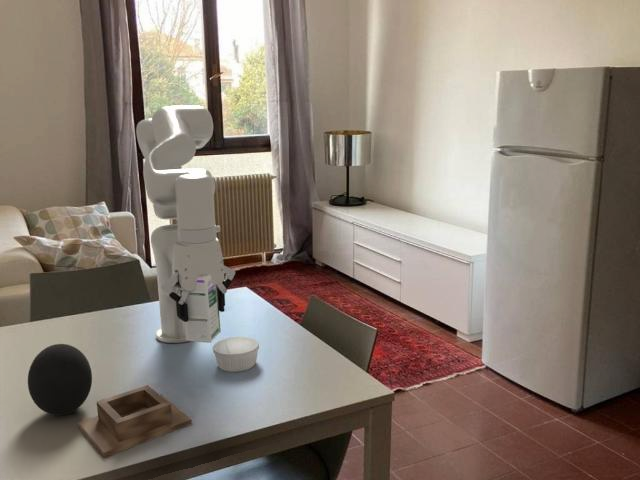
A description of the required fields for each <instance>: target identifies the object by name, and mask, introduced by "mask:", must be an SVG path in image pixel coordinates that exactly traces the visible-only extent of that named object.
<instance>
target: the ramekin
mask: <svg viewBox="0 0 640 480" xmlns="http://www.w3.org/2000/svg"><path fill="white" fill-rule="evenodd" d="M259 348H260V344H259V342H258V341H257V340H256V339H255V338H253V337H247V336H232V337H231V336H230V337H227V338H223V339H221V340H219V341H217V342H216V343H214V344H213V346H212V351H213V354H214V357H215V360H216V365H217V367H218V368H219V369H221V370H222V371H224V372H227V373H228V372H229V373H240V372H243V371H248V370H249V369H251V368H253V367H254V366H255V364H256V363H257V360H258V352H259Z"/></svg>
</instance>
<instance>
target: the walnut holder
mask: <svg viewBox="0 0 640 480" xmlns="http://www.w3.org/2000/svg"><path fill="white" fill-rule="evenodd" d="M96 409H97V415H96V416H94V417H90V418H88V419H85V420H82V421H79V422H78V427H79V429H80V430H81V431H82V433H84V436H86V437H87V439H88V440H89V441H90V442H91V443H92V445H93V446H95V448H96V449H97V450H98V452H99V453H100V454H101V456H103V458H106V457H109V456H113V455H115V454H116V453H120V452H122V451H125V450H127V449H131V448H132V447H135V446H138V445H140V444H143V443H146V442H147V441H151V440H153V439H155V438H159V437H161V436H164V435H165V434H169V433H171V432H173V431H176V430H179V429H182V428H184V427H186V426H187V427H188V426H190V425H191V424H192V423H193V420H192V418H191V417H190V416H189V415H187V413H185V412H184V411H182V410H181V409H180V408H179V407H177V405H175V404H174V403H173V402H172V401H170V400H169V399H168V398H167V397H165V396H164V395H163V394H159V393H158V392H157V391H156V390H155V389H153V388H152V387H151V386H150V385H149V384H147V385H143V386H140V387H138V388H133V389H132V390H128V391H125V392H122V393H119V394H115V395H113V396H110V397H106V398H104V399H101V400H98V401H97V400H96Z"/></svg>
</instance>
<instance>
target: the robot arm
mask: <svg viewBox="0 0 640 480" xmlns="http://www.w3.org/2000/svg"><path fill="white" fill-rule="evenodd" d="M135 132H136V139H137V143H138V146H139V149H140V151H141V153H142V157H144V160H145V161H144V163H143V167H142V168H143V170H142V175H143V181H144V185H145V191H146V195H147V197H148V200H149V201H150V203H152V206H153V211H154V214H155V215H156V218H158V219H161V220H176V222H177V223H174V224H172V223H171V224H165V225H161V226H159V227H157V228H155V229H154V230H153V231H152V233H151V235H150V244H151V245H150V246H151V249H152V253H153V256H154V262H155V266H156V267H155V268H156V278H157V291H158V302H159V313H160V314H159V315H160V326H161V327H160V328H159V329H157V331H156V333H155V334H156V335H155V336H156V339H157V340H158V341H160V342H162V343H166V344H181V343H186V342H188V341H187V340H186V333H185V322H187V321H188V305H187V303H185V300H186V298H187V296H188V294H189V292H191V291H194V290H196V287H197V278H198V276H204V275H211V279H212V283H213V286H217V287H218V301H219V312H221V313H222V312H225V306H226V295H225V294H226V293H228V288H229V287H230V285H231V284H232V280H233V279H234V276H235V275H236V271H235V270H234V269H232V268H231V267H228V266H226V265H225V264H224V259H223V258H224V257H223V252H222V248H221V244H220V241H219V239H218V236H217V233H219V232H221V226H220V225H218V224H217V225H216V218H215V217H216V216H215V215H216V214H215V197H214V195H215V192H216V180H215V177H214V175H212V173H211V172H210V170H208V169H206V168H203V167H202V168H201V167H200V168H198V167H197V168H196V167H195V168H183V166H185V165H187V164H188V163H190V162H191V160H193V158H194V157H195V154H196V153H197V152H196V151H197V150H199V149H202V148H204V147H205V146H206V145H207V143H208V142H209V141H210V140H211V138H212V136H213V132H214V121H213V117H212V115H211V113H210V111H209V110H208V109H207V108H205V107H204V106H202V105H170V106H169V105H167V106H162V107H160V108H158V109H157V110H156V111H155V112H154V113H153V114H152V116H151V117H150V118H145V119H142V120H140V121H138V123H137V124H136V131H135ZM182 291H183V292H182Z"/></svg>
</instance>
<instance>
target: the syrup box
mask: <svg viewBox="0 0 640 480" xmlns="http://www.w3.org/2000/svg"><path fill="white" fill-rule="evenodd" d="M182 292H183V291H182ZM185 303H187V305H188V321H187V322H185V333H186V340H187V342H193V343H194V342H196V343H206V344H207V343H209V344H211V343H212V342H213V340H215V338H216V337H217V336H218V335H219V334H220V333H221V323H220V322H221V320H220V319H221V317H220V311H219V301H218V287H217V286H213V283H212V279H211V275H204V276H198V278H197V287H196V290H194V291H191V292H189V294H188V296H187V298H186V300H185Z"/></svg>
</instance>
